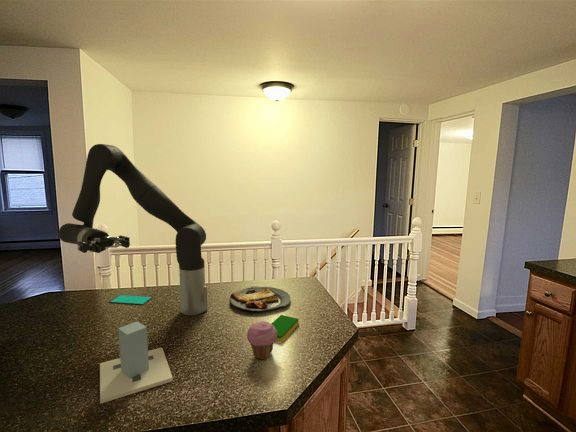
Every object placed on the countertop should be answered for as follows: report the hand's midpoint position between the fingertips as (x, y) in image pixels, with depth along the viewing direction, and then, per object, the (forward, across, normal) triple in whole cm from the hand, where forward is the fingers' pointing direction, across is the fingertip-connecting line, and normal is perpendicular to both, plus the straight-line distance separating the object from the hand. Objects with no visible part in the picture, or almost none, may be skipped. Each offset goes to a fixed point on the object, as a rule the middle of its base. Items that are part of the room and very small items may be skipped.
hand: (114, 247), depth 99 cm
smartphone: (-25, +15, +30) cm, 42 cm away
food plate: (+16, +49, +30) cm, 60 cm away
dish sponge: (+38, +36, +30) cm, 61 cm away
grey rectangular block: (+23, -6, +29) cm, 37 cm away
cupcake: (+43, +21, +30) cm, 57 cm away
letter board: (+23, -6, +30) cm, 38 cm away
